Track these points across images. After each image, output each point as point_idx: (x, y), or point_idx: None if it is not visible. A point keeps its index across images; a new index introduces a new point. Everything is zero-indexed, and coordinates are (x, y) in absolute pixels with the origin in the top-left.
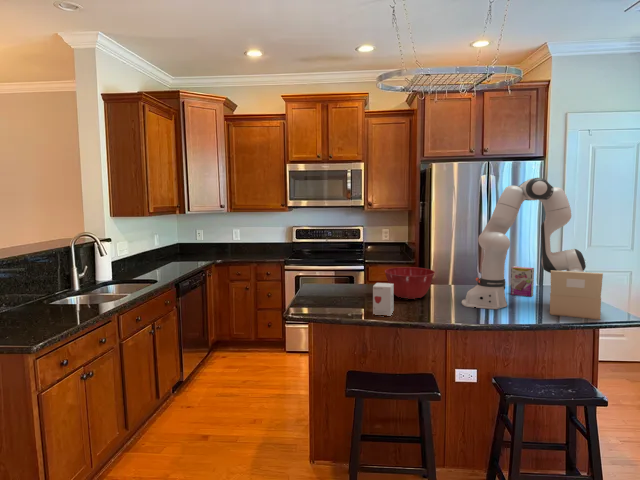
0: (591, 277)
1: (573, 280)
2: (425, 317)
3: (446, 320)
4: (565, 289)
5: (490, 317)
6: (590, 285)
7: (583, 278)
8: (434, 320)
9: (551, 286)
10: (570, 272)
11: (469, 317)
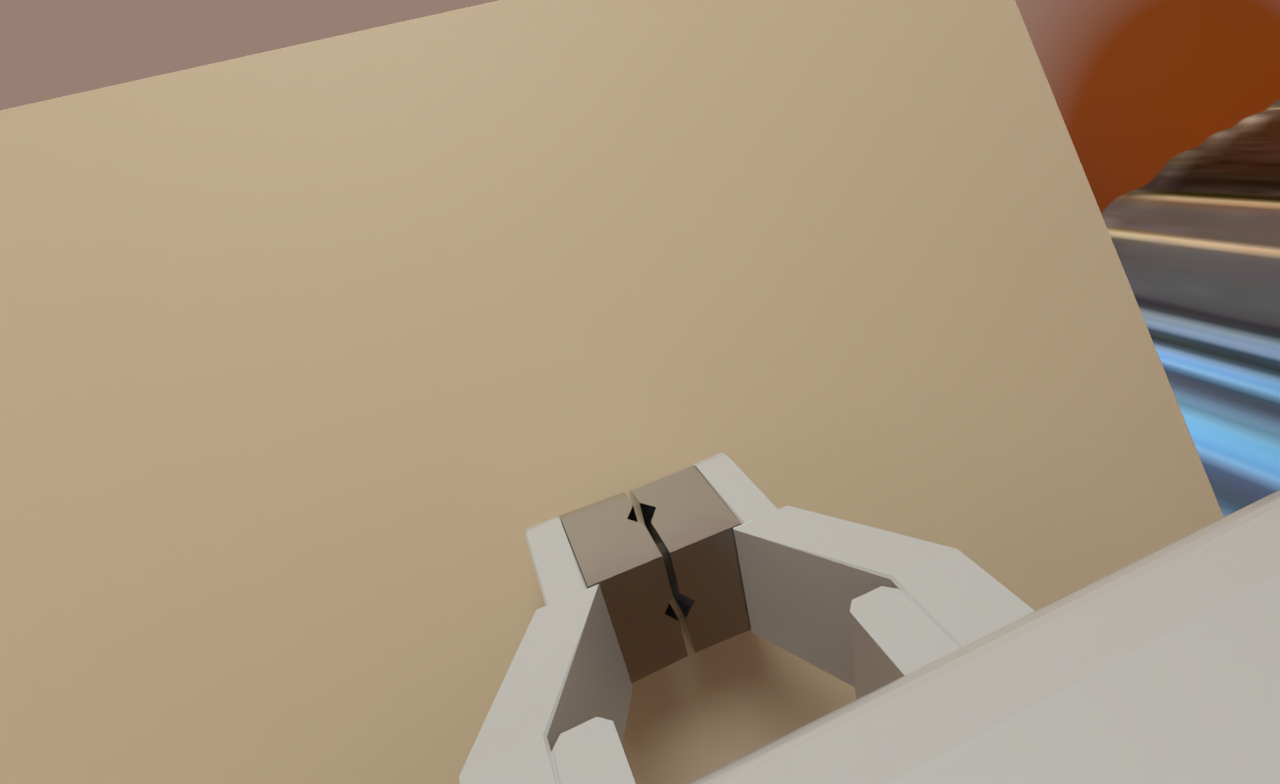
0: (145, 259)
1: (611, 280)
2: (1275, 192)
3: (1171, 226)
4: None
5: (1189, 361)
6: (255, 557)
7: (359, 259)
8: (1187, 204)
9: (1126, 381)
10: (589, 11)
11: (1224, 292)
